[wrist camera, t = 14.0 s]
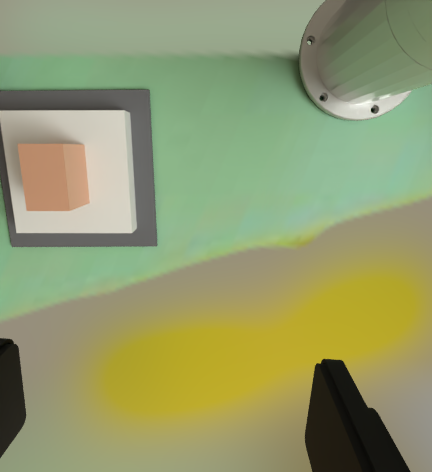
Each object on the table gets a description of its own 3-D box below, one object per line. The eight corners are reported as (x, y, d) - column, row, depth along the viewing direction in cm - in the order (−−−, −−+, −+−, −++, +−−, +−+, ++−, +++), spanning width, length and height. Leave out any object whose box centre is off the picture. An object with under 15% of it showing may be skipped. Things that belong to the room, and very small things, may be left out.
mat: (149, 90, 36) (148, 89, 36) (157, 245, 40) (156, 246, 40) (-11, 91, 36) (-13, 91, 36) (13, 245, 40) (11, 246, 40)
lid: (130, 112, 36) (108, 103, 29) (136, 228, 39) (118, 245, 32) (12, 112, 36) (-39, 103, 29) (27, 228, 39) (-14, 245, 32)
